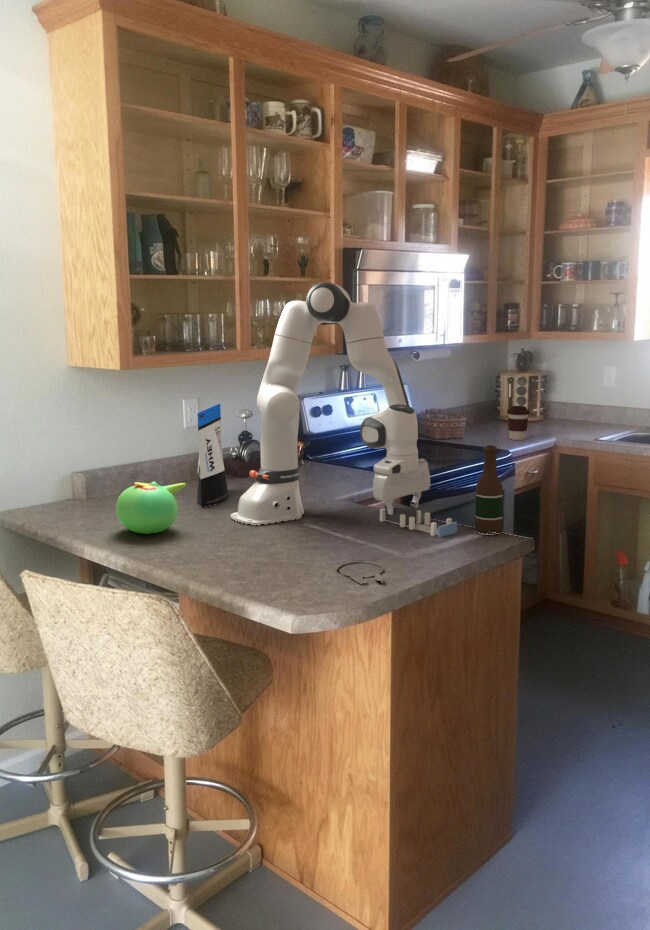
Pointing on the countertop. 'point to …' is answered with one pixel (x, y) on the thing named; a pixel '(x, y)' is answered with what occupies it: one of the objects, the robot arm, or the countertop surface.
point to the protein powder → (210, 459)
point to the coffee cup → (517, 422)
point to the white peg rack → (425, 524)
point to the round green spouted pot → (148, 507)
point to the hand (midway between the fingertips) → (403, 510)
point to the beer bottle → (489, 496)
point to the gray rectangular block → (400, 513)
